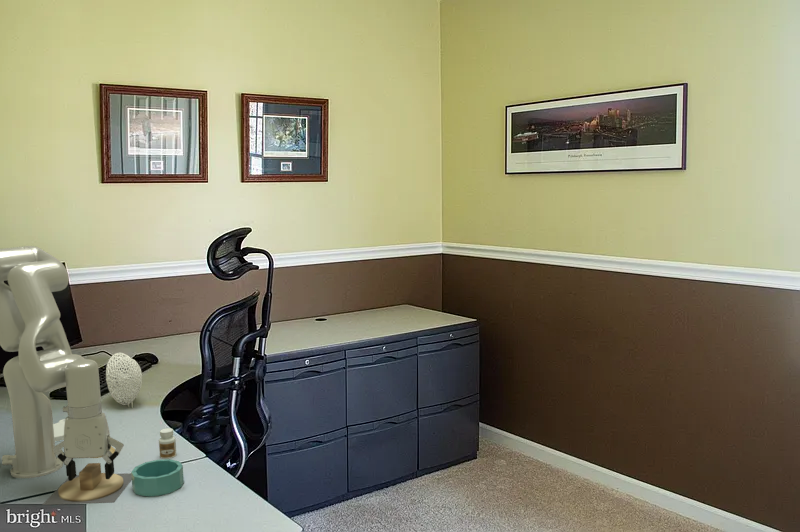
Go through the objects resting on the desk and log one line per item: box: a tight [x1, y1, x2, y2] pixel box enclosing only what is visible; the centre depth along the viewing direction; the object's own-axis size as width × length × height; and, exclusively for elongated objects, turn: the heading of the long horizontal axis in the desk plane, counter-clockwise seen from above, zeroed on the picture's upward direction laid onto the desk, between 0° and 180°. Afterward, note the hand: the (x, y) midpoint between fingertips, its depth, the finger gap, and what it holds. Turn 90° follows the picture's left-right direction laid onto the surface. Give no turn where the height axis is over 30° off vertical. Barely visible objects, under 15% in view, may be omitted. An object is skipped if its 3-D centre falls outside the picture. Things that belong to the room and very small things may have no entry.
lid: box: [58, 462, 124, 502], centre depth 187 cm, size 15×15×5 cm
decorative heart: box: [105, 352, 143, 409], centre depth 253 cm, size 18×11×17 cm, turn 35°
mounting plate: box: [53, 418, 65, 442], centre depth 229 cm, size 18×13×2 cm
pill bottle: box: [158, 427, 177, 460], centre depth 207 cm, size 4×4×8 cm
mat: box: [41, 472, 132, 506], centre depth 187 cm, size 17×17×1 cm
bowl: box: [130, 458, 185, 497], centre depth 187 cm, size 12×12×5 cm
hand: (91, 477), depth 187 cm, fingers open, 8 cm apart
